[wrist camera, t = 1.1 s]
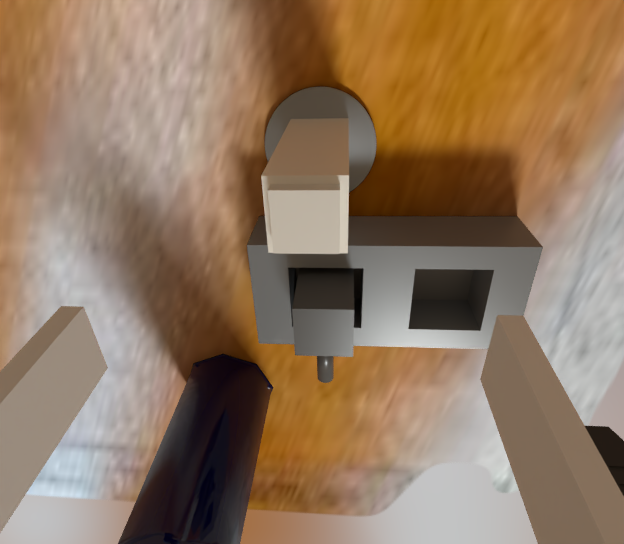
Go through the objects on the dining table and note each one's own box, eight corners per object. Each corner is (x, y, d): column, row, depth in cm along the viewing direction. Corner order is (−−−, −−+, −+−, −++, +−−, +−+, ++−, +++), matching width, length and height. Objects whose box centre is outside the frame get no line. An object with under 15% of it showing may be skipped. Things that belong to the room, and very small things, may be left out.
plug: (290, 118, 30) (258, 181, 19) (348, 118, 29) (349, 181, 18) (293, 174, 32) (265, 260, 21) (347, 174, 31) (347, 261, 21)
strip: (259, 215, 34) (233, 275, 26) (517, 216, 33) (569, 279, 25) (269, 315, 39) (250, 389, 32) (492, 319, 38) (529, 398, 30)
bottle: (177, 353, 43) (-74, 862, 17) (268, 354, 42) (145, 889, 16) (195, 415, 47) (19, 886, 22) (277, 417, 47) (192, 908, 21)
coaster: (260, 87, 29) (259, 88, 29) (379, 85, 28) (379, 86, 28) (270, 198, 33) (269, 200, 33) (373, 198, 33) (373, 199, 32)
